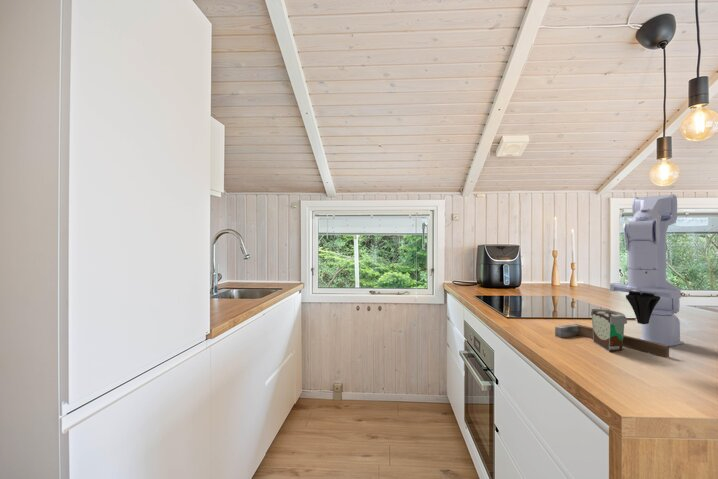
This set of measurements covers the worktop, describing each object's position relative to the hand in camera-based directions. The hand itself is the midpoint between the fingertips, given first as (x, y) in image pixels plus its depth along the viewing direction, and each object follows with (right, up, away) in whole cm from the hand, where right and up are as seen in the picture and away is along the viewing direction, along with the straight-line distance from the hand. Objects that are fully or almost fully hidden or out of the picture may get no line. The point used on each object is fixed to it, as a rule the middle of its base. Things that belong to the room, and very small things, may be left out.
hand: (643, 323), depth 86 cm
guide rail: (+2, -10, +16) cm, 19 cm away
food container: (+2, -11, +14) cm, 17 cm away
